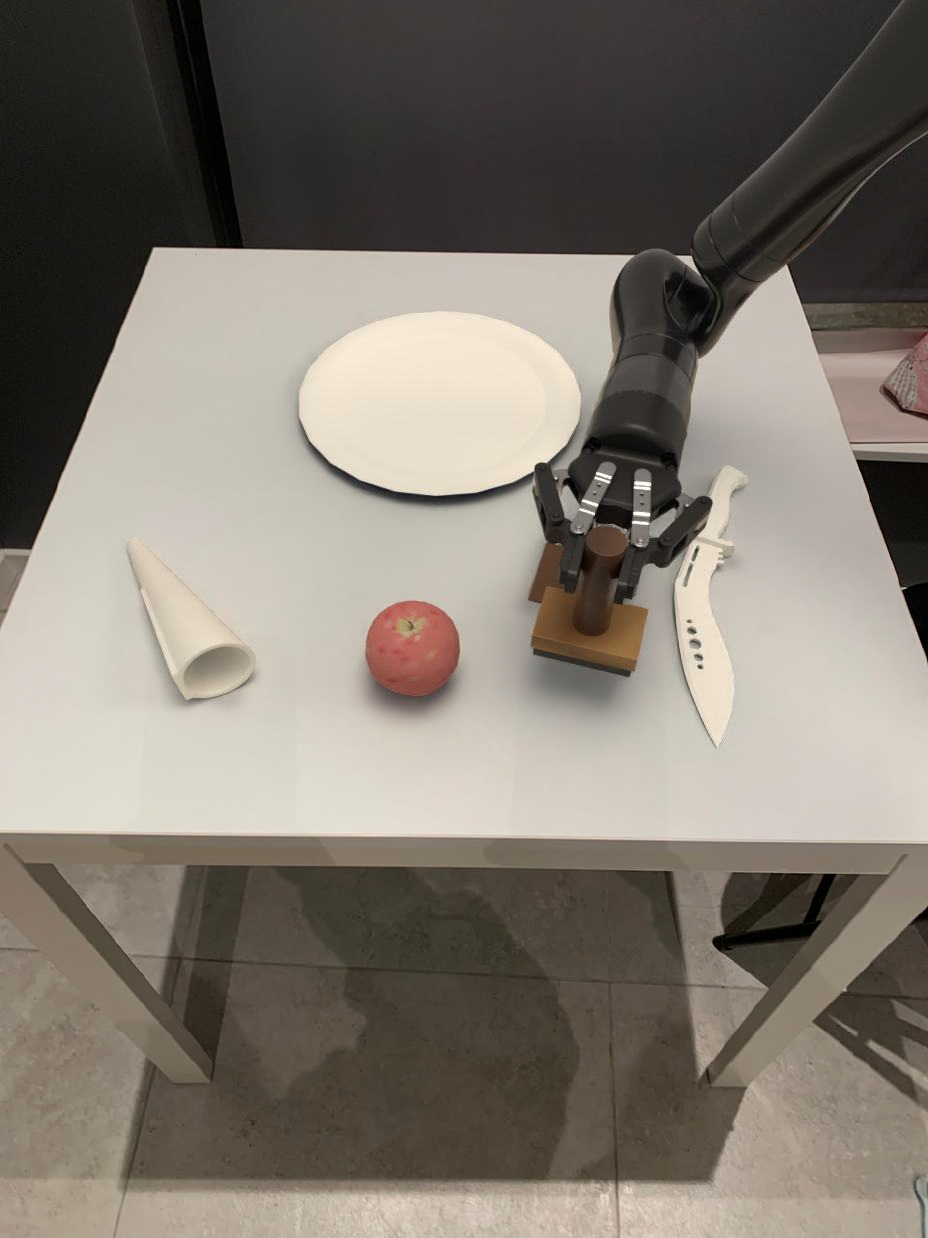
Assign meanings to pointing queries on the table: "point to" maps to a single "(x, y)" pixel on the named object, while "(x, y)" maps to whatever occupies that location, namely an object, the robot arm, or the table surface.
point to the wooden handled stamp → (592, 613)
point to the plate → (439, 403)
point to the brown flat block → (548, 572)
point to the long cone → (189, 631)
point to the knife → (708, 612)
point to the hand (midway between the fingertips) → (595, 590)
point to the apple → (412, 648)
